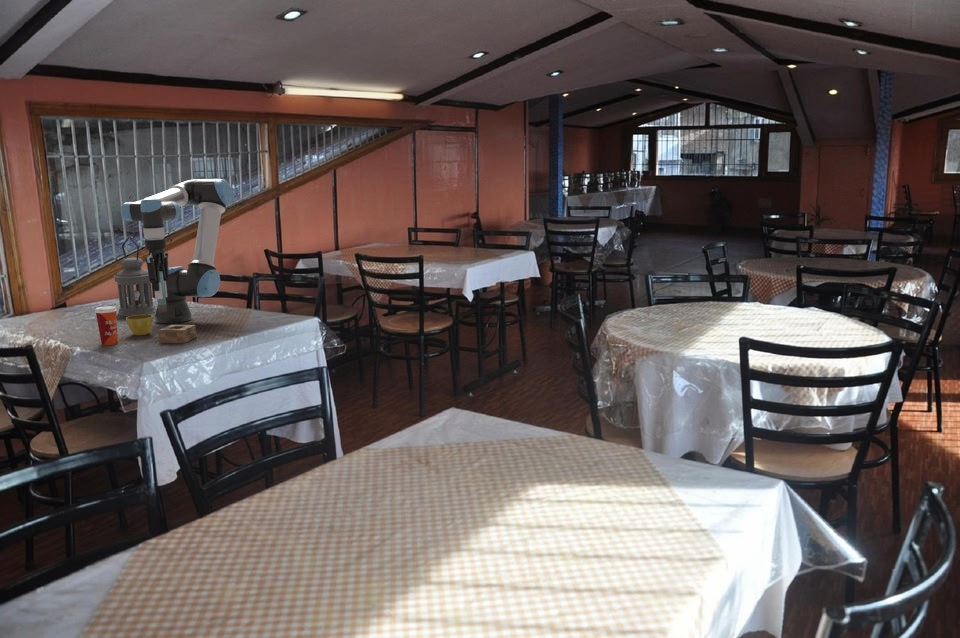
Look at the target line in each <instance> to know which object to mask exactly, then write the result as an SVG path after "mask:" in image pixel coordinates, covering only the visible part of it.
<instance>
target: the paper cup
mask: <svg viewBox="0 0 960 638" xmlns="http://www.w3.org/2000/svg"><path fill="white" fill-rule="evenodd" d="M117 311H118V309H117V308H116V306H114V305H113V306H112V305H111V306H110V305H109V306H108V305H107V306H100V307H99V306H98V307H96V308H95V311H94V313H95V316H96V321H97V327H98V332H99V338H100V342H101V345H102V346H113V345H117V344H118V343H119V341H118V319H117V318H118V317H117V315H118V314H117Z"/></svg>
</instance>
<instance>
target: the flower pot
mask: <svg viewBox="0 0 960 638" xmlns="http://www.w3.org/2000/svg"><path fill="white" fill-rule="evenodd" d="M125 321H126V323H127V325H128V328H129V330H130V331H131V332H132V334H133V335H134V336H146V335H149V333H150V331H151V329H152V325H153V322H154V315H152V314H147V315H135V316H125Z"/></svg>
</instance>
